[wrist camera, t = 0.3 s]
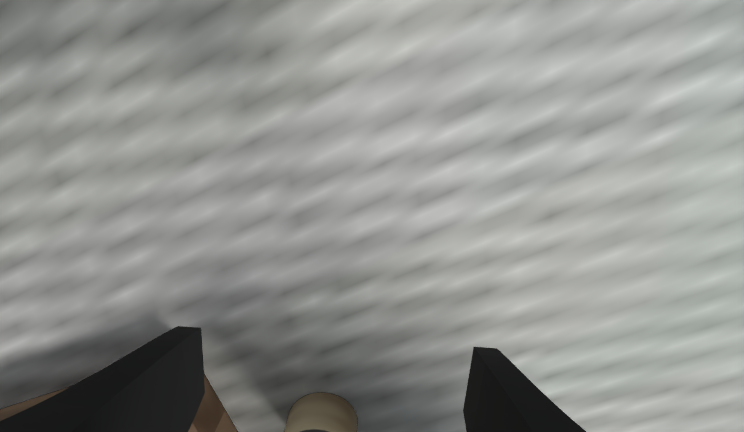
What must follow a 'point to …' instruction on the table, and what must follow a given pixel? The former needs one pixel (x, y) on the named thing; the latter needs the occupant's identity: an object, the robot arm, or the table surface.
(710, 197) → the table surface
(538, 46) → the table surface
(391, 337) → the table surface
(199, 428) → the walnut board
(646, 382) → the table surface
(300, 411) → the beech peg
